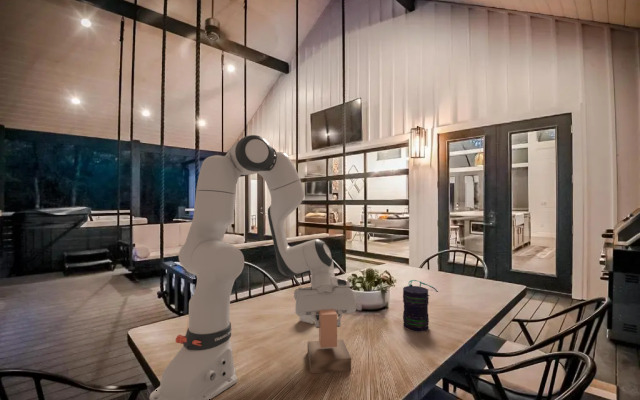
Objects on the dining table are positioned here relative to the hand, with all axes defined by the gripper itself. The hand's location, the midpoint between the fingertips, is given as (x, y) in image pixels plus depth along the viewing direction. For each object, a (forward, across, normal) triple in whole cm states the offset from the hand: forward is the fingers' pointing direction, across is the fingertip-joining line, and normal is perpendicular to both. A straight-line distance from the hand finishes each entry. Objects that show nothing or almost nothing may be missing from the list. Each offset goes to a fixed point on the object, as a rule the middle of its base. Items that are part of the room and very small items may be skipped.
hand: (328, 326), depth 90 cm
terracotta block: (+3, 0, +4) cm, 5 cm away
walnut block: (+8, 0, +8) cm, 11 cm away
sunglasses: (-39, +64, +55) cm, 93 cm away
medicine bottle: (-16, -2, +32) cm, 36 cm away
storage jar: (-7, +39, +23) cm, 46 cm away
